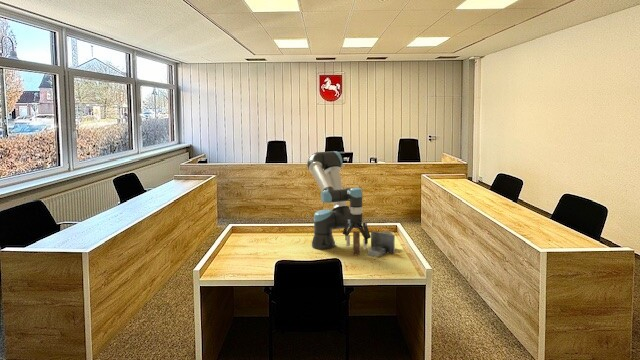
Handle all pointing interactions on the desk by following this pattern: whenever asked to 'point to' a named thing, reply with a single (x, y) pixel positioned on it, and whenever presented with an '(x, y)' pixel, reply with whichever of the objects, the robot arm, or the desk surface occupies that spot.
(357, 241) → the handle
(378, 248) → the bracket
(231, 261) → the desk surface
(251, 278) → the desk surface
